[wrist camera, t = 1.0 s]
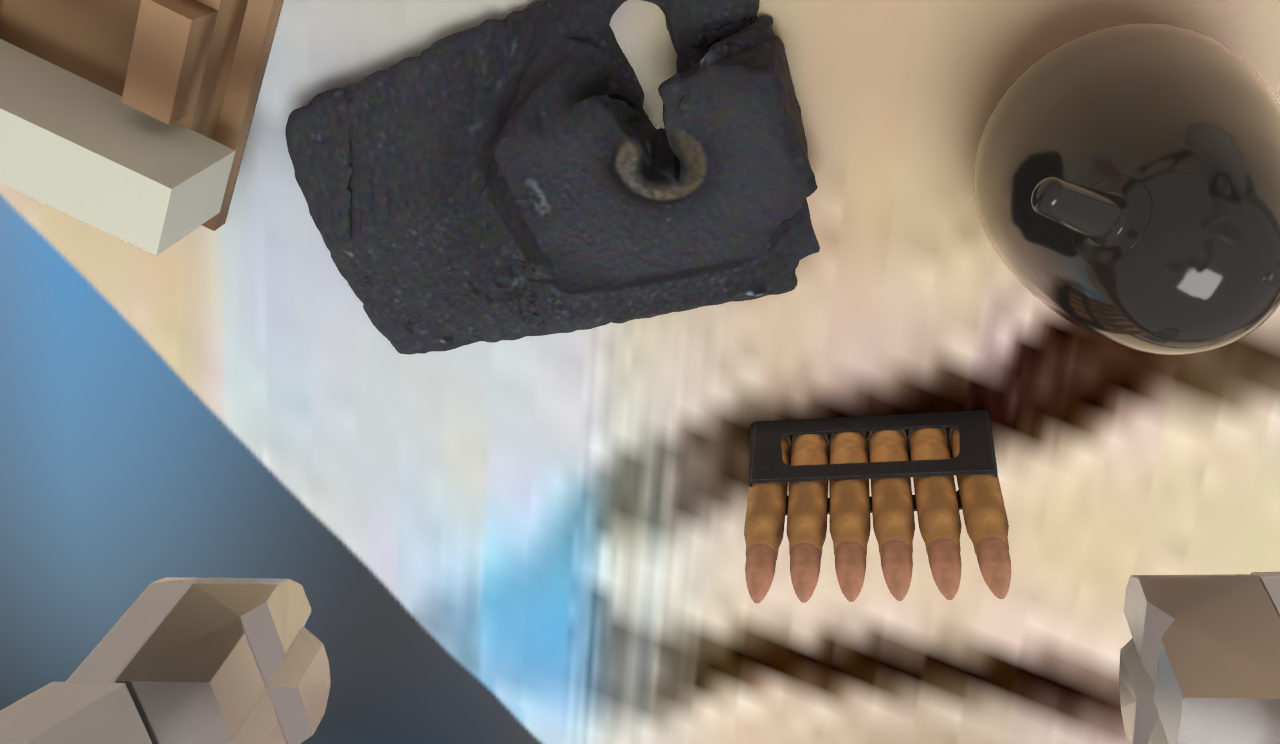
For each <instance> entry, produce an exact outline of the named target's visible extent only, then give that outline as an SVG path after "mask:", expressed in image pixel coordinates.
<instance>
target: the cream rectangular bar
mask: <svg viewBox="0 0 1280 744" xmlns="http://www.w3.org/2000/svg"><path fill="white" fill-rule="evenodd" d="M121 100H122V96H120V95H118V94H115V93H113V92H111V91H109V90H107V89H105V88H103V87H101V86H99V85H96V84H94V83H92V82H90V81H88V80H86V79H84V78H82V77H80V76H78V75H75V74H73V73H71V72H69V71H67V70H65V69H63V68H61V67H59V66H57V65H54V64H52V63H50V62H48V61H46V60H44V59H42V58H40V57H38V56H36V55H33V54H31V53H29V52H27V51H25V50H23V49H21V48H19V47H17V46H14V45H12V44H10V43H8V42H6V41H4V40H2V39H0V183H1V184H4V185H6V186H8V187H10V188H12V189H14V190H16V191H19V192H21V193H23V194H25V195H27V196H29V197H31V198H34V199H36V200H38V201H40V202H42V203H44V204H46V205H49V206H51V207H53V208H55V209H57V210H59V211H61V212H64V213H66V214H68V215H70V216H72V217H74V218H76V219H79V220H81V221H83V222H85V223H87V224H89V225H91V226H94V227H96V228H98V229H100V230H102V231H104V232H106V233H109V234H111V235H113V236H115V237H117V238H119V239H121V240H124V241H126V242H128V243H130V244H132V245H134V246H136V247H139V248H141V249H143V250H145V251H147V252H149V253H151V254H154V255H156V256H157V255H158V254H160V253H161V252H163V251H164V250H165V249H167V248H168V247H170V246H171V245H173V244H174V243H176V242H177V241H179V240H180V239H182V238H183V237H184V236H186V235H187V234H189V233H190V232H192V231H193V230H195V229H196V228H198V227H199V226H201V225H202V224H203V223H205V222H206V221H208V220H209V219H211V218H212V217H214V216H215V215H217V214H218V213H220V209H221V205H222V202H223V198H224V194H225V190H226V186H227V182H228V178H229V174H230V171H231V167H232V163H233V159H234V155H235V150H233V149H231V148H229V147H227V146H225V145H223V144H221V143H218V142H216V141H214V140H212V139H210V138H208V137H206V136H204V135H202V134H200V133H197V132H195V131H193V130H191V129H189V128H187V127H185V126H183V125H181V124H179V123H176V122H174V123H172V124H170V125H168V124H166V123H164V122H161V121H159V120H157V119H155V118H153V117H151V116H149V115H147V114H145V113H143V112H140V111H138V110H136V109H134V108H132V107H130V106H128V105H126V104H124V103H121Z"/></svg>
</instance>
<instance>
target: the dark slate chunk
mask: <svg viewBox="0 0 1280 744" xmlns="http://www.w3.org/2000/svg"><path fill="white" fill-rule="evenodd" d="M625 1H627V0H539V1H538V2H533V3H531V4H530V5H529V6H528V7H527V8H526V9H525V10H524V11H519V12H517V11H515V12H512V13H511V14H509V15H508V16H507V17H506V18H505V19H504V20H485V21H484V22H483V23H482V24H480V25H479V26H478V27H475V28H473V29H470V30H467V31H463V32H460V33H456V34H453V35H451V36H448V37H446V38H444V39H441V40H439V41H437V42H436V43H434V44H433V45H432V46H431V47H430V48H428V49H425V50H423V51H422V53H421V57H411V58H407V59H404V60H403V61H401V62H399V63H398V64H396V65H393V66H392V67H390V69H389V70H383V71H378V72H376V73H374V74H372V75H370V76H369V77H367V78H365V79H364V80H362V81H361V82H360V83H358V84H355V85H352V86H349V87H346V88H341V89H332V90H329V91H326V92H323V93H320V94H318V95H316V96H315V97H314V98H313V99H312V100H311V101H310V103H309V104H308V105H306V106H304V107H301V108H298V109H296V110H294V111H292V112H291V114H290V115H289V118H288V121H287V125H286V140H287V146H288V151H289V154H290V157H291V160H292V163H293V165H294V169H295V178H296V180H297V182H298V184H299V186H300V188H301V190H302V192H303V194H304V196H305V199H306V201H307V203H308V207H309V211H310V215H311V216H312V218H313V220H314V223H315V225H316V227H317V228H318V230H319V231H320V233H321V235H322V237H323V240H324V242H325V244H326V246H327V248H328V249H329V251H330V253H331V257H332V259H333V261H334V263H335V264H336V266H337V268H338V270H339V272H340V273H341V275H342V276H343V277H344V278H345V279H346V280H347V281H348V283H349V285H350V287H351V288H352V290H353V291H354V293H355V294H356V296H357V297H358V298H359V299H360V300H361V301H362V302H363V304H364V305H363V307H364V310H365V312H366V313H367V315H368V316H369V318H370V320H371V322H372V323H373V325H374V326H375V327H376V328H377V329H378V330H379V331H380V332H381V333H382V334H383V335H384V336H385V337H386V338H387V339H388V340H389V341H390V342H391V344H392V345H393V346H394V347H395V349H396V350H397V351H398V352H399V353H401V354H415V353H427V352H430V351H447V350H451V349H455V348H458V347H460V346H463V345H468V344H471V343H474V342H478V341H486V342H498V341H500V340H516V339H520V338H522V337H525V336H541V335H548V334H554V333H569V332H573V331H575V330H585V329H591V328H594V327H598V326H602V325H606V324H608V323H610V322H613V323H624V322H627V321H629V320H633V319H640V318H650V317H654V316H657V315H662V314H667V313H671V312H680V311H686V310H690V309H694V308H698V307H702V306H708V305H718V304H723V303H726V302H730V301H744V300H752V299H756V298H760V297H763V296H766V295H771V294H774V295H776V294H782V293H786V292H789V291H792V290H793V289H795V287H796V285H797V279H796V276H795V269H796V267H797V266H798V263H799V260H801V259H802V258H804V257H806V256H808V255H810V254H813V253H817V252H819V249H820V247H819V244H818V241H817V238H816V236H815V233H814V230H813V227H812V224H811V219H810V213H809V208H808V204H807V200H806V197H808V196H810V195H811V194H812V193H813V192H814V191H815V190H816V189H817V185H816V181H815V176H814V173H813V171H812V169H811V167H810V164H809V160H808V157H807V155H808V150H807V141H806V137H805V133H804V128H803V124H802V119H801V110H800V106H799V103H798V101H797V98H796V96H795V91H794V86H793V83H792V79H791V76H790V71H789V66H788V62H787V58H786V54H785V48H784V45H783V43H782V41H781V40H780V39H779V37H777V36H776V35H774V34H773V33H772V23H773V19H772V17H768V16H761V17H759V18H757V16H756V15H757V11H758V9H759V0H643V1H648V2H651V3H654V4H656V5H658V6H659V7H660V9H661V10H662V11H663V12H664V14H665V15H666V23H667V29H668V31H669V33H670V35H671V39H672V42H673V45H674V48H675V50H676V53H677V64H676V66H677V73H676V74H675V75H674V76H673V77H671V78H669V79H668V80H666V81H664V82H663V83H662V84H661V85H660V87H659V88H658V91H659V94H660V96H661V98H662V100H663V122H664V126H665V129H657V130H656V129H655V128H654V126H653V124H652V123H651V121H650V120H649V119H648V117H647V116H646V114H645V113H644V110H643V107H642V104H643V101H644V93H643V90H642V88H641V86H640V84H639V81H638V79H637V77H636V75H635V72H634V71H633V69H632V67H631V65H630V64H629V62H628V60H627V58H626V57H625V55H624V53H623V52H622V50H621V48H620V47H619V45H618V43H617V41H616V38H615V36H614V33H613V31H612V29H611V28H610V26H609V23H610V19H611V17H612V15H613V14H614V12H615V11H616V10H617V9H618V8H619V6H620V5H621V4H622V3H623V2H625ZM746 17H750V18H751V19H750V21H748V20H744V21H743V19H744V18H746ZM750 23H752V24H751V25H750Z"/></svg>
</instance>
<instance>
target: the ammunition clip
mask: <svg viewBox="0 0 1280 744" xmlns="http://www.w3.org/2000/svg"><path fill="white" fill-rule="evenodd" d="M953 475H956V476H957V482H958V487H959V490H958V491H957V492H956V489H955V482H954V476H953ZM910 477H913V480H914V488H915V495H912V490H911V479H910ZM869 479H871V494H872V497H869ZM828 480H830V498H828ZM788 482H789V496H787V486H788ZM960 509H963V515H964V520H965V525H966V529H967V533H968V535H969V537H970V539H971V540H972V542H973V545H974V549H975V553H976V555H977V559H978V564H979V567H980V570H981V573H982V576H983V578H984V580H985V582H986V584H987V585H988V587H989V589H990V590H991V591H992V593H993V594H994V595H995V596H996V597H998V598H999V599H1003V598H1005V596H1006V595H1007V593H1008V590H1009V586H1010V580H1011V561H1010V555H1009V545H1008V538H1007V536H1008V527H1009V526H1008V520H1007V515H1006V511H1005V506H1004V502H1003V497H1002V493H1001V488H1000V484H999V479H998V475H997V465H996V458H995V450H994V443H993V436H992V428H991V421H990V414H989V412H988V411H987V410H975V411H956V412H937V413H917V414H898V415H878V416H859V417H840V418H820V419H801V420H782V421H762V422H755V423H753V424H752V425H751V439H750V466H749V494H748V502H747V511H746V519H745V529H744V536H745V541H746V567H745V571H746V582H747V587H748V591H749V594H750V596H751V598H752V600H753V601H754V602H755V603H760V602H761V601H762V600H763V599H764V598H765V596H766V594H767V592H768V590H769V588H770V586H771V584H772V581H773V577H774V573H775V565H776V560H777V555H778V549H779V546H780V544H781V542H782V539H783V533H784V522H785V515H788V516H787V536H788V540H789V545H790V573H791V580H792V584H793V587H794V590H795V593H796V595H797V597H798V598H799V600H800V601H801V602H803V603H805V602H807V601H808V600H809V599H810V597H811V596H812V594H813V592H814V590H815V587H816V585H817V582H818V577H819V572H820V562H821V555H822V546H823V544H824V541H825V538H826V531H827V514H830V533H831V537H832V540H833V544H834V555H835V567H836V574H837V578H838V582H839V585H840V588H841V590H842V593H843V594H844V596H845V597H846V598H847V600H848V601H850V602H853V601H854V600H855V599H856V598H857V597H858V595H859V593H860V591H861V588H862V586H863V582H864V577H865V570H866V555H867V543H868V540H869V536H870V513H872V512H873V527H874V532H875V536H876V539H877V541H878V545H879V552H880V556H881V566H882V570H883V574H884V578H885V581H886V584H887V586H888V588H889V590H890V592H891V594H892V595H893V596H894V598H895V599H896V600H898V601H901V600H903V599H904V597H905V596H906V594H907V592H908V589H909V586H910V582H911V577H912V567H913V561H912V552H913V545H912V541H913V537H914V531H915V522H914V511H917V513H918V522H919V528H920V532H921V535H922V538H923V540H924V542H925V545H926V550H927V554H928V558H929V564H930V568H931V572H932V575H933V578H934V581H935V583H936V585H937V587H938V589H939V590H940V592H941V593H942V594H943V596H944V597H945V598H947V599H948V600H952V599H953V598H954V597H955V595H956V593H957V591H958V588H959V584H960V578H961V557H960V539H959V538H960V533H961V520H960V514H959V510H960Z"/></svg>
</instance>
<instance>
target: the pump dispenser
mask: <svg viewBox="0 0 1280 744" xmlns="http://www.w3.org/2000/svg"><path fill="white" fill-rule="evenodd" d="M974 189H975V198H976V203H977V208H978V212H979V216H980V219H981V222H982V225H983V227H984V230H985V232H986V234H987V236H988V238H989V240H990V242H991V244H992V246H993V248H994V249H995V251H996V252H997V254H998V255H999V257H1000V258H1001V260H1002V261H1003V262H1004V264H1005V265H1006V266H1007V267H1008V269H1009V270H1010V271H1011V272H1012V273H1013V274H1014V276H1015V277H1016V278H1017V279H1018V280H1019V281H1020V282H1021V283H1022V284H1023V285H1024V286H1025V287H1026V288H1027V289H1028V290H1029V291H1030V292H1031V293H1032V294H1033V295H1034V296H1035V297H1037V298H1038V299H1039V300H1040V301H1041V302H1042V303H1044V304H1045V305H1046V306H1048V307H1049V308H1050V309H1052V310H1053V311H1054V312H1056V313H1057V314H1059V315H1060V316H1062V317H1063V318H1065V319H1067V320H1068V321H1070V322H1071V323H1073V324H1075V325H1076V326H1078V327H1080V328H1082V329H1083V330H1085V331H1087V332H1089V333H1091V334H1093V335H1095V336H1097V337H1099V338H1101V339H1103V340H1105V341H1108V342H1110V343H1113V344H1115V345H1118V346H1122V347H1125V348H1128V349H1132V350H1136V351H1141V352H1146V353H1152V354H1161V355H1187V354H1195V353H1201V352H1206V351H1210V350H1214V349H1217V348H1220V347H1223V346H1226V345H1228V344H1231V343H1233V342H1235V341H1237V340H1239V339H1241V338H1243V337H1244V336H1246V335H1248V334H1249V333H1251V332H1252V331H1254V330H1255V329H1256V328H1258V327H1259V326H1260V325H1261V324H1263V323H1264V322H1265V321H1266V320H1267V319H1268V318H1269V317H1270V316H1271V315H1272V314H1273V313H1274V312H1275V311H1276V310H1277V308H1278V307H1279V306H1280V107H1279V105H1278V103H1277V102H1276V100H1275V98H1274V97H1273V95H1272V94H1271V92H1270V91H1269V89H1268V88H1267V86H1266V85H1265V83H1264V82H1263V81H1262V80H1261V78H1260V77H1259V76H1258V75H1257V73H1256V72H1255V71H1254V70H1253V69H1252V68H1251V67H1250V66H1249V65H1248V64H1247V63H1246V62H1245V61H1244V60H1242V59H1241V58H1240V57H1239V56H1238V55H1236V54H1235V53H1234V52H1232V51H1231V50H1230V49H1228V48H1227V47H1225V46H1224V45H1222V44H1221V43H1219V42H1217V41H1215V40H1213V39H1212V38H1210V37H1208V36H1205V35H1203V34H1201V33H1198V32H1195V31H1192V30H1189V29H1186V28H1182V27H1178V26H1173V25H1167V24H1157V23H1133V24H1124V25H1117V26H1112V27H1107V28H1103V29H1099V30H1096V31H1093V32H1090V33H1087V34H1084V35H1082V36H1079V37H1077V38H1074V39H1072V40H1070V41H1068V42H1066V43H1064V44H1062V45H1060V46H1059V47H1057V48H1055V49H1054V50H1052V51H1050V52H1049V53H1047V54H1046V55H1044V56H1043V57H1042V58H1040V59H1039V60H1038V61H1036V62H1035V63H1034V64H1033V65H1031V66H1030V67H1029V68H1028V69H1027V70H1026V71H1025V72H1023V73H1022V74H1021V75H1020V76H1019V77H1018V78H1017V79H1016V81H1015V82H1014V83H1013V84H1012V85H1011V86H1010V87H1009V89H1008V90H1007V91H1006V92H1005V94H1004V95H1003V96H1002V98H1001V99H1000V101H999V102H998V104H997V105H996V107H995V109H994V110H993V112H992V114H991V116H990V118H989V120H988V122H987V124H986V126H985V129H984V131H983V134H982V137H981V140H980V143H979V147H978V151H977V155H976V161H975V170H974Z"/></svg>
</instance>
